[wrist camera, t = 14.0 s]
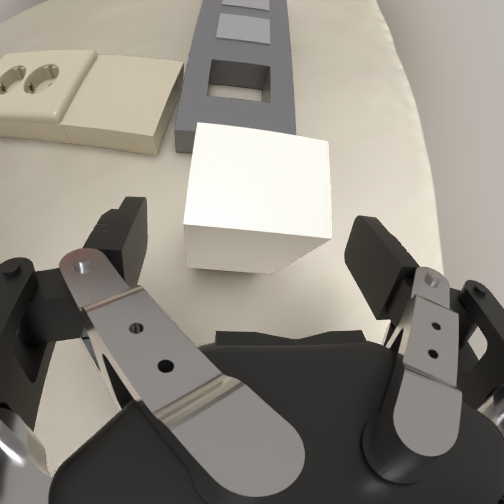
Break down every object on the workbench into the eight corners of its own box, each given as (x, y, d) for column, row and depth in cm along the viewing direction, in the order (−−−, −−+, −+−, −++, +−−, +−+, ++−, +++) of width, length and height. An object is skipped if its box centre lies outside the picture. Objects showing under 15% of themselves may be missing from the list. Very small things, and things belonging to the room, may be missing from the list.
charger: (188, 276, 20) (183, 224, 9) (193, 222, 21) (197, 122, 10) (259, 281, 21) (332, 238, 10) (261, 228, 22) (327, 141, 11)
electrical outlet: (151, 128, 18) (-37, 114, 16) (157, 158, 22) (-16, 137, 20) (183, 53, 20) (4, 52, 17) (183, 87, 24) (18, 77, 21)
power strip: (176, 152, 22) (174, 122, 18) (212, -20, 27) (215, -44, 24) (284, 162, 23) (300, 135, 20) (277, -12, 29) (284, -34, 25)
